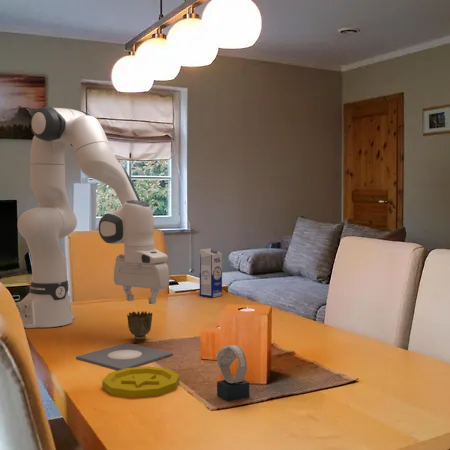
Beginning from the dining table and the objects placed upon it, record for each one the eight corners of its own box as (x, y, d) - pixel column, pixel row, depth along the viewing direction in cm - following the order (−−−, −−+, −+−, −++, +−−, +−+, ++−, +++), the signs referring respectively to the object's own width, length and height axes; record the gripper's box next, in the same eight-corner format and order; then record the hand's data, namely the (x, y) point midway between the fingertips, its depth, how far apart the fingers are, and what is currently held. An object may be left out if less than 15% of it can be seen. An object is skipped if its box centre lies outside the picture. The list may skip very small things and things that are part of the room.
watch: (233, 388, 134) (233, 340, 133) (253, 399, 127) (254, 348, 126) (212, 393, 131) (211, 343, 130) (231, 404, 124) (231, 352, 123)
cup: (147, 343, 172) (147, 316, 172) (123, 342, 174) (123, 315, 173) (155, 337, 180) (155, 311, 179) (132, 336, 181) (132, 310, 181)
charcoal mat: (76, 358, 157) (76, 356, 157) (127, 344, 171) (127, 342, 171) (122, 371, 146) (122, 368, 146) (172, 355, 160) (172, 352, 160)
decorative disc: (87, 388, 135) (87, 379, 135) (145, 370, 148) (145, 362, 148) (136, 405, 124) (136, 396, 124) (194, 384, 138) (194, 375, 137)
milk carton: (209, 294, 254) (209, 247, 253) (222, 295, 250) (222, 248, 249) (199, 296, 248) (199, 249, 247) (212, 298, 244) (212, 249, 243)
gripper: (108, 254, 179) (109, 300, 180) (156, 258, 166) (157, 307, 167) (123, 253, 184) (125, 297, 185) (171, 256, 171) (173, 303, 172)
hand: (141, 302), depth 176 cm, fingers open, 8 cm apart
